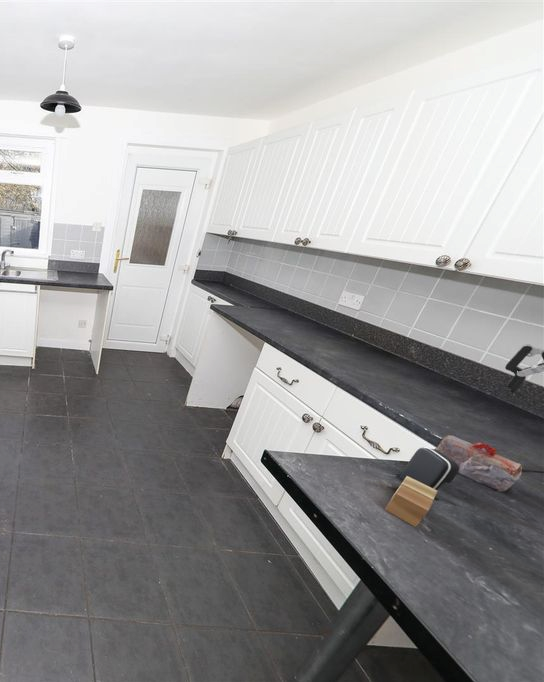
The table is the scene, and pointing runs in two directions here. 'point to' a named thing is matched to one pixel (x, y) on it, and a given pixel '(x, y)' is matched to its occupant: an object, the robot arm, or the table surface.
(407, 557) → the table surface
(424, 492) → the block
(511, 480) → the food item
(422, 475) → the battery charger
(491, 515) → the table surface
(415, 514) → the block
